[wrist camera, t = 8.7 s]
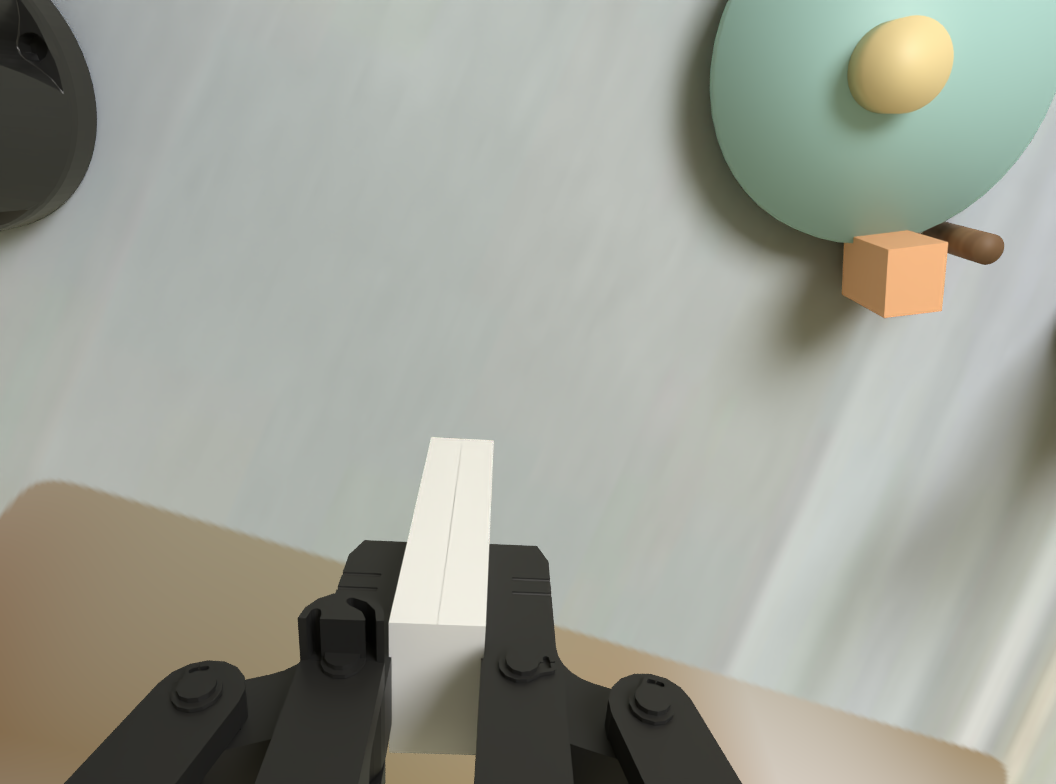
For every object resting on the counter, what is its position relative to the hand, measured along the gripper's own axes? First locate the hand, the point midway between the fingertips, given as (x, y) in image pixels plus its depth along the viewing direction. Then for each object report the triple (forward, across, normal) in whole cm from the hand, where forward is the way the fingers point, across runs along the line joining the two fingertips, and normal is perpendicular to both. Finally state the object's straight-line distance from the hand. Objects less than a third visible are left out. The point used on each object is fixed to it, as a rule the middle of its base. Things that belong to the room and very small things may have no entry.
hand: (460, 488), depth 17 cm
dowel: (+27, +26, +3) cm, 38 cm away
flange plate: (+25, +20, +10) cm, 34 cm away
